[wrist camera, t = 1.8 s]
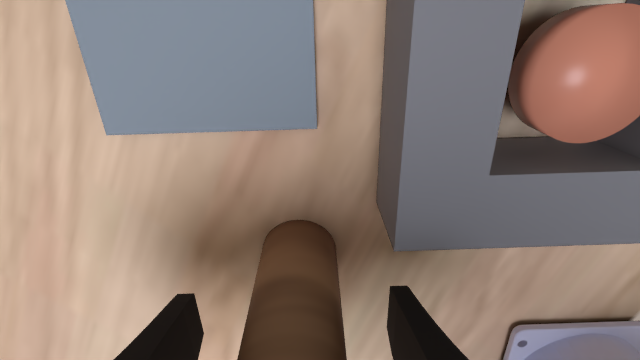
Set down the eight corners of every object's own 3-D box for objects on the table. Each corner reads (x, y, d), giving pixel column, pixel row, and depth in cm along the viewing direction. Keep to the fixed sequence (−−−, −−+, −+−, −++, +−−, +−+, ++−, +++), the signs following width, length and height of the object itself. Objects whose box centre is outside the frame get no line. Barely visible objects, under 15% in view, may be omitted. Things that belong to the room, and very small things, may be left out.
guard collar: (626, 194, 15) (713, 240, 12) (376, 202, 15) (394, 251, 12) (758, -132, 10) (963, -204, 7) (393, -122, 10) (429, -189, 7)
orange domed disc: (609, 130, 11) (641, 141, 10) (497, 133, 11) (517, 145, 10) (653, 3, 10) (696, 1, 9) (523, 7, 10) (550, 5, 9)
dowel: (335, 278, 16) (352, 458, 10) (266, 280, 16) (233, 462, 10) (335, 218, 15) (353, 380, 8) (259, 221, 15) (214, 385, 8)
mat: (316, 125, 13) (316, 128, 13) (112, 132, 13) (106, 135, 13) (308, -142, 10) (308, -148, 9) (32, -135, 10) (22, -141, 9)
